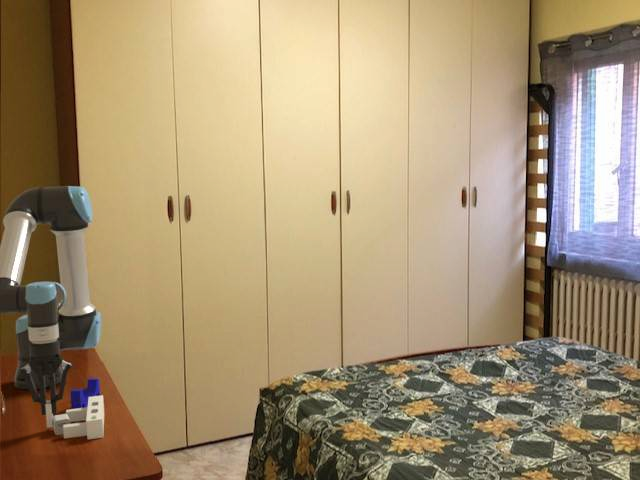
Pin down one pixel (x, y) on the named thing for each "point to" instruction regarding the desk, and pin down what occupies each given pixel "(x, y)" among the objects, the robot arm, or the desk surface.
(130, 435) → the desk surface
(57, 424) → the usb wall charger
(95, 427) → the dock
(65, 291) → the robot arm
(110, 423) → the desk surface
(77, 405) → the cable clip
